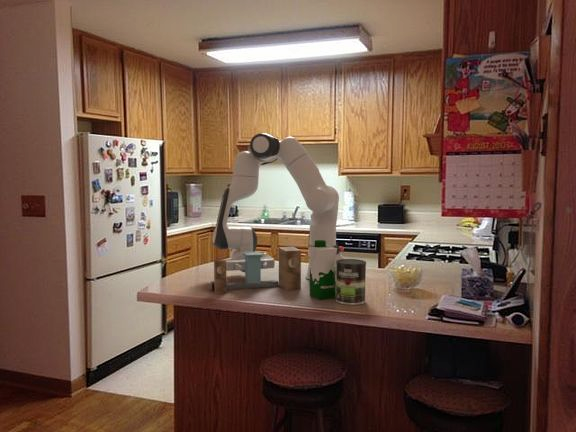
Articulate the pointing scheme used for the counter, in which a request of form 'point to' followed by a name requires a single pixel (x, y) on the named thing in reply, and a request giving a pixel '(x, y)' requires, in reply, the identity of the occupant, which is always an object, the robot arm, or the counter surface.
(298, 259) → the gauge cabinet
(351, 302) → the coffee can
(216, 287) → the gauge post
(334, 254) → the milk carton
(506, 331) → the counter surface
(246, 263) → the carriage
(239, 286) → the handrail
